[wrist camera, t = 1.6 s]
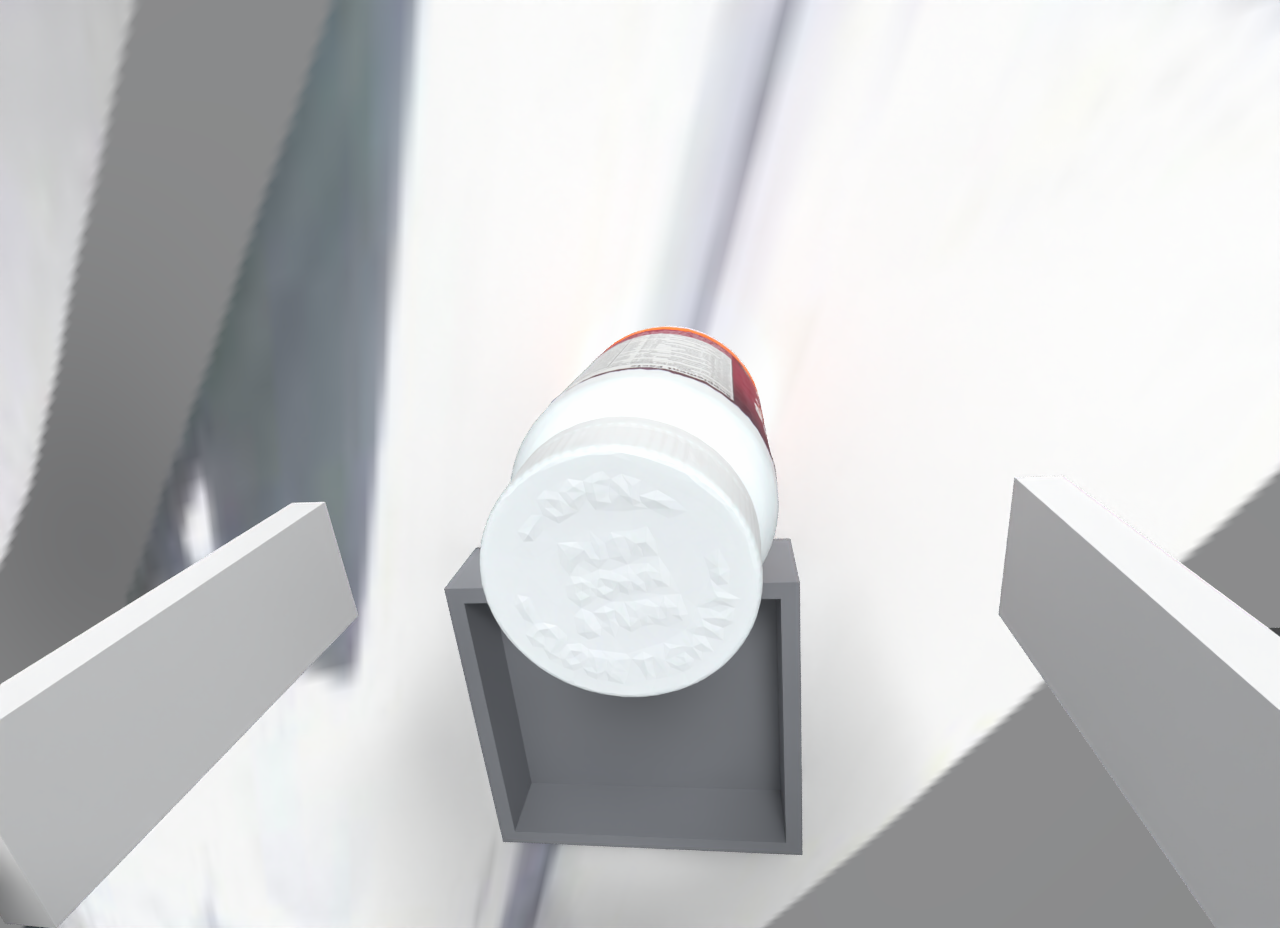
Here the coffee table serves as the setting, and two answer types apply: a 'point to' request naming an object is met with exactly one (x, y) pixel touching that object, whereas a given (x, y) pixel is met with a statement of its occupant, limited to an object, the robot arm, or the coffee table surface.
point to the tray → (643, 738)
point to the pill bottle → (637, 519)
